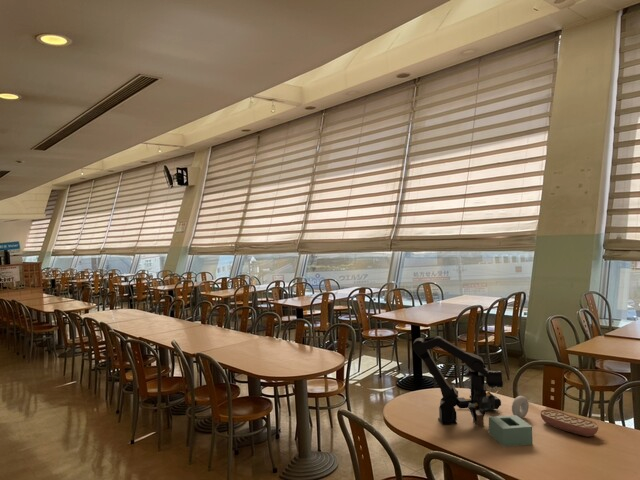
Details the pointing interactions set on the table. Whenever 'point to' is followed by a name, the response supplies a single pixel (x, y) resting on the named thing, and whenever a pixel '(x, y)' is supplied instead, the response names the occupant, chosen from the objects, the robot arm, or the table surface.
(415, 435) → the table surface
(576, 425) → the pink mitochondrion model
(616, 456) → the table surface
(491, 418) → the box
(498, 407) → the fried shrimp in bowl
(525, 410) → the donut
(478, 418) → the rectangular block
